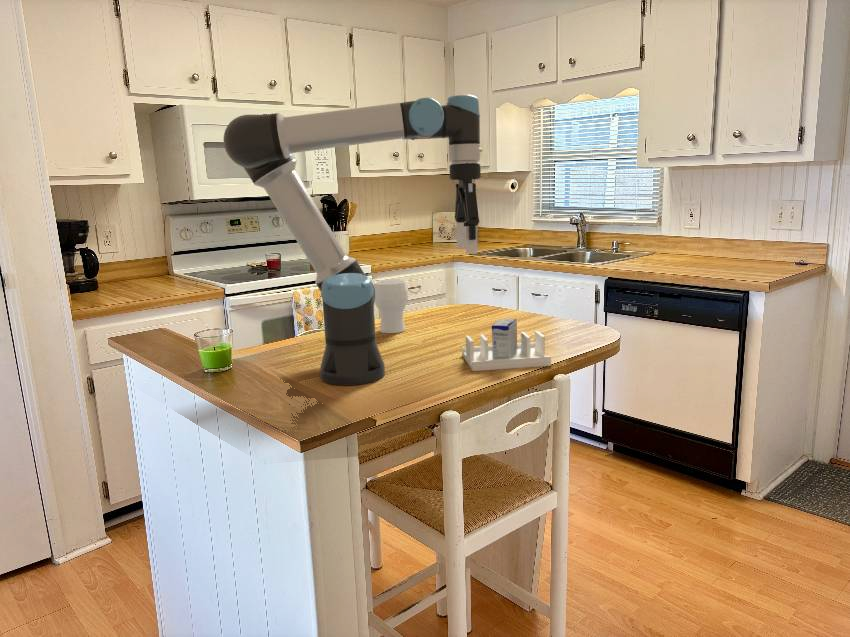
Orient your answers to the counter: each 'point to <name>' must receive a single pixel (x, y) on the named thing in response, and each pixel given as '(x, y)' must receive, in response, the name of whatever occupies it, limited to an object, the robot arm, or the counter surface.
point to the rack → (524, 357)
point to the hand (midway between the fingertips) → (466, 250)
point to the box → (504, 338)
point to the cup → (391, 304)
